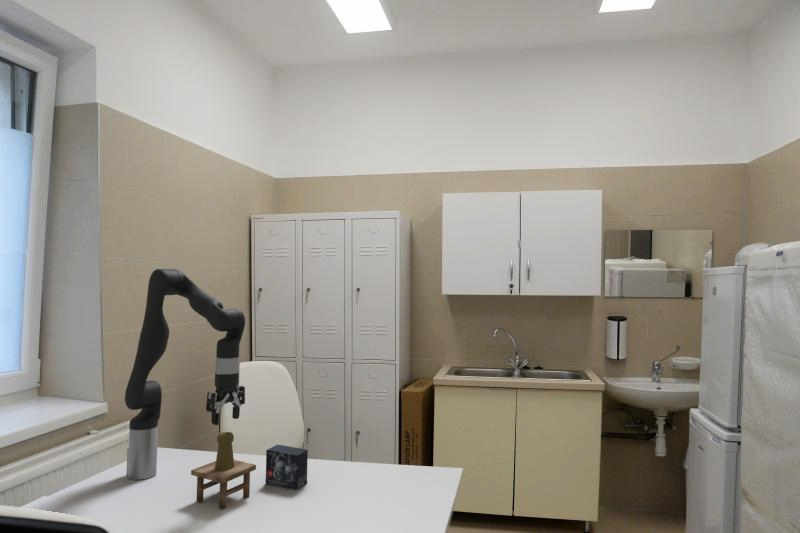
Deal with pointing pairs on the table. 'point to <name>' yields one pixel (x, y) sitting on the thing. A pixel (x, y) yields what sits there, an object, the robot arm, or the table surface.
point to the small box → (286, 467)
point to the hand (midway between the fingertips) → (225, 421)
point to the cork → (225, 451)
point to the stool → (223, 479)
